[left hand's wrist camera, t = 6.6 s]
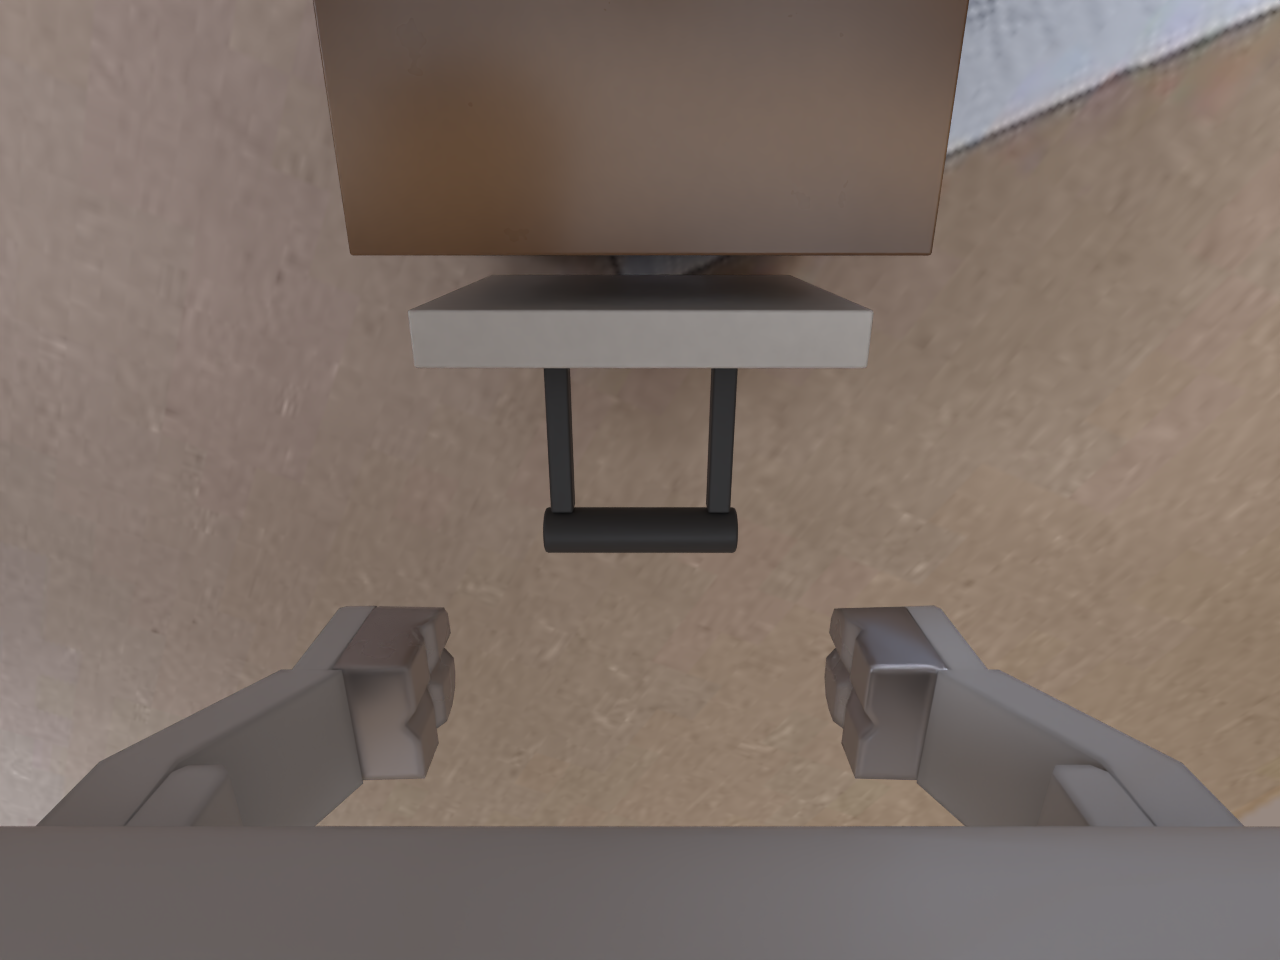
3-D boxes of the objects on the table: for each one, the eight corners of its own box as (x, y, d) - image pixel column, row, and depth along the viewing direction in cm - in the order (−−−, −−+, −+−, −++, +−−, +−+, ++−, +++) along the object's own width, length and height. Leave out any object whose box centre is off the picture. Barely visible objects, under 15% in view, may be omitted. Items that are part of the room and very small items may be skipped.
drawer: (775, 480, 24) (838, 605, 16) (505, 480, 24) (442, 605, 16) (850, -475, 15) (1054, -1148, 8) (432, -475, 15) (229, -1147, 8)
